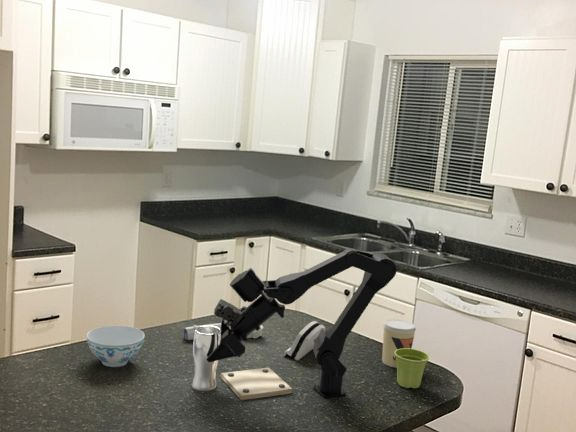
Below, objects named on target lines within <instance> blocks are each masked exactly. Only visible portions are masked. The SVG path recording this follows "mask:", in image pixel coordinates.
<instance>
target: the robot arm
mask: <svg viewBox="0 0 576 432" xmlns="http://www.w3.org/2000/svg"><path fill="white" fill-rule="evenodd" d="M350 268H356V269H359V270H362V271H364V274H363V277H362V280H361V283H360V284H359V285H358V288H357V289H356V291H355V292H354V293H353V295H352V296H351V298H350V299H349V301H348V303H347V304H346V306H345V307H344V308H343V310H342V311H341V313H340V314H339V316H338V318H337V319H336V321H335V322H334V324H333V325H332V326H331V328H329V329H327V330H326V329H325V330H323V329H321V331H320V333H319V335H318V337H317V338H316V339H315V340H314V343H315V344H314V346H313V349H312V350H313V354H314V356H315V359H316V362H317V363H318V365H319V368H320V369H319V375H318V384H317V385H313V387H312V388H313V389H314V390H315V391H316V392H317V393H318V394H320V395H321V396H322V397H323V398H325V399H327V398H334V397H341V396H346V395H347V392H346V391H344V390H343V381H344V380H343V379H344V376H345V374H346V372H347V367H346V365H345V362H344V361H343V358H342V356H341V355H342V354H343V351H344V347H345V343H346V339H347V338H348V336H349V334H351V332H352V330H353V328H354V327H355V326H356V324H357V323H358V321H359V319H360V318H361V316H362V315H363V313H364V312H365V310H366V309H367V307H368V306H369V304H370V302H372V300H373V298H374V297H375V295H376V294H377V293H378V292H380V291H381V290H382V289H383V288H384V289H385V287H386V286H388V284H389V283H390V282H391V281H392V280H394V278H395V276H396V275H397V273H398V272H397V271H398V270H397V264H395V262H394V261H393V260H392V259H391V258H390V257H389V256H387V254H384V253H377V254H373V253H370V252H366V251H361V250H357V249H356V248H353V247H348V248H346V249H344V250H343V251H342V252H340V253H338V254H335V255H333V256H331V257H329V258H328V259H326V260H323V261H322V262H320V263H317V264H315V265H313V266H311V267H310V268H308V269H306V270H303V271H300V272H294V273H293V272H292V273H289V274H287V275H286V274H285V275H283V276H280V277H278V278H277V279H273V280H271V279H270V280H261V279H260V277H259V276H258V275H257V274H256V272H255V270H254V269H253V268H251V267H250V268H249V269H247V270H244V271H243V272H241V273H239V274H237V275H236V276H234V278H233V279H232V280H231V282H230V283H229V287H231V289H232V290H233V291H234V292H235V293H236V294H237V295H238V296H239V297H240V298H241V300H242V301H243V302H244V303H246V302H248V303H250V304H249V305H248V306H245V305H244V306H241V308H238V307H237V306H235V305H234V304H232V303H230V302H228V301H226V300H224V299H222V298H220V299H219V301H218V302H217V304H216V306H215V308H214V309H213V315H215V316H216V317H218V318H221V320H220V321H221V322H220V323H221V328H220V329H221V340H220V344H219V345H218V346H217V347H216V349H215V350H214V351H213V352H212V353H211V354H210V355H209V356H208V358H207V361H208V362H213V361H217V360H218V361H220V360H225V359H229V358H233V357H234V358H237V357H238V358H240V357H241V356H243V355H244V354H245V353H246V341H247V340H249V338H248V335H250V334H251V333H252V332H253V331H254V330H257V331H258V330H259V329H260V326H261V325H262V326H263V324H264V323H265V322H267V321H268V320H269V319H270V318H272V317H273V316H274V315H275V314H276V313H277V315H278V316H280V318H281V319H283V318H284V317H285V310H286V305H290V304H293V303H294V302H295V301H297V300H298V299H300V298H301V297H302V296H304V294H305V293H306V292H307V291H309V290H310V289H311V288H313V287H314V286H316V285H318V284H320V283H323V282H324V281H326V280H328V279H330V278H332V277H334V276H336V275H338V274H341V273H342V272H344V271H346V270H348V269H350Z"/></svg>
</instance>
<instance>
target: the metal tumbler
mask: <svg viewBox="0 0 576 432" xmlns="http://www.w3.org/2000/svg"><path fill="white" fill-rule="evenodd" d="M198 326H199V325H198ZM220 340H221V329H220V328H218V327H215V326H199V327H197V328H196V329H195V335H194V340H193V343H192V344H193V345H192V356H193V365H194V375H193V379H192V383H191V384H192V388H193V389H194V390H196V391H199V392H211V391H213V390H215V389H216V388H217V379H216V378H217V377H216V376H217V375H216V372H217V368H218V364H219V360H217V361H213V362H208V361H207V358H208V356H209V355H210V354H211V353H212V352H213V351H214V350H215V349H216V347H217V346H218V345H219V344H220Z"/></svg>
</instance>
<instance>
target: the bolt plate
mask: <svg viewBox="0 0 576 432" xmlns="http://www.w3.org/2000/svg"><path fill="white" fill-rule="evenodd" d="M220 378H221V380H222V381H223V382H224V383H225V384H226V385H227V386H228V388H230V389H231V390H232V392H233V393H234V394H235V395H236V396H237V397H238V398H239V399H240V400H241V401H247V400H253V399H260V398H266V397H268V398H269V397H275V396H282V395H289V394H293V388H292V386H290V385H289V384H288V383H287V382H285V381H284V380H283V378H281V377H280V376H279V375H278V374H277V373H275V371H274V370H272V369H271V368H270V367H262V368H253V369H244V370H236V371H228V372H221V373H220Z"/></svg>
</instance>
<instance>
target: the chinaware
mask: <svg viewBox="0 0 576 432" xmlns="http://www.w3.org/2000/svg"><path fill="white" fill-rule="evenodd" d="M145 338H146V337H145V332H144V331H142V330H141V329H139V328H136V327H133V326H128V325H105V326H104V325H103V326H99V327H96V328H93V329H91V330H90V331H88V332H87V333H86V341H87V344H88V345H87V346H89V349H90V351H91V353H92V354H93V355H94V356H95V357H96V358H97V360H100V361H101V364H102V365H103V366H106V367H108V368H109V367H110V368H120V367H124V366H125V365H127V364H128V361H130V360H131V359H133V358H134V357H135V356H136V355H137V354H138V352H139V351H140V350H141V347H142V346H143V344H144V341H145Z"/></svg>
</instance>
